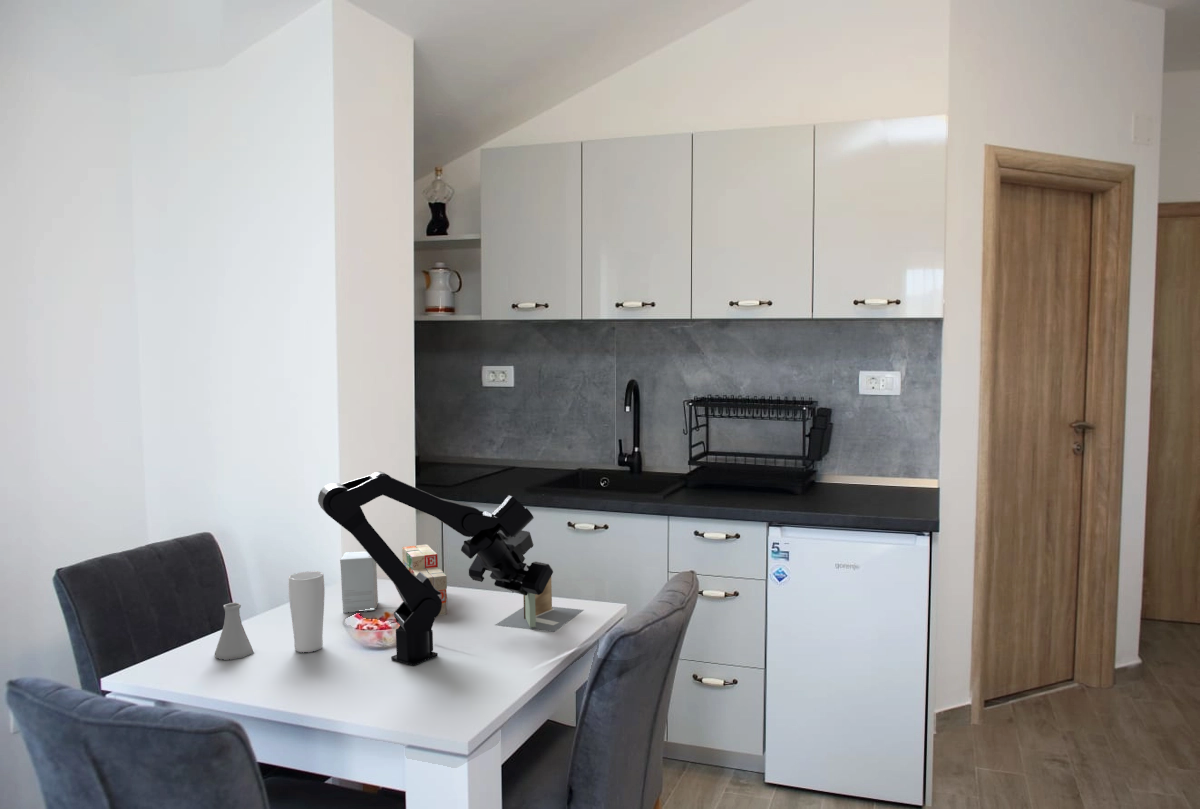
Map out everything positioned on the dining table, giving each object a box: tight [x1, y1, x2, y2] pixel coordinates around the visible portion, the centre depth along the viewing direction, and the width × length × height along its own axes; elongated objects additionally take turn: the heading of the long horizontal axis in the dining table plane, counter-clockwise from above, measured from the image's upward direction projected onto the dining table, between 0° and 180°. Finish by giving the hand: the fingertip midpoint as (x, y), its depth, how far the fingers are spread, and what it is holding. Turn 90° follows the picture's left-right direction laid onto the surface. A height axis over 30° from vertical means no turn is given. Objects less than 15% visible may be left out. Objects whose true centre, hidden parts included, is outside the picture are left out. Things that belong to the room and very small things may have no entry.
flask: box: [214, 602, 255, 661], centre depth 167 cm, size 7×7×10 cm
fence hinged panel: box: [525, 593, 536, 627], centre depth 181 cm, size 7×1×8 cm, turn 13°
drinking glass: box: [287, 570, 326, 653], centre depth 169 cm, size 7×7×15 cm
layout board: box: [495, 606, 584, 633], centre depth 186 cm, size 16×14×1 cm
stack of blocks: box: [401, 544, 448, 616], centre depth 198 cm, size 21×6×12 cm, turn 23°
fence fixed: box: [522, 576, 553, 619], centre depth 188 cm, size 9×2×8 cm, turn 144°
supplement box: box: [339, 550, 379, 614], centre depth 197 cm, size 7×7×13 cm
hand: (526, 593), depth 181 cm, fingers closed, pressing on fence hinged panel
